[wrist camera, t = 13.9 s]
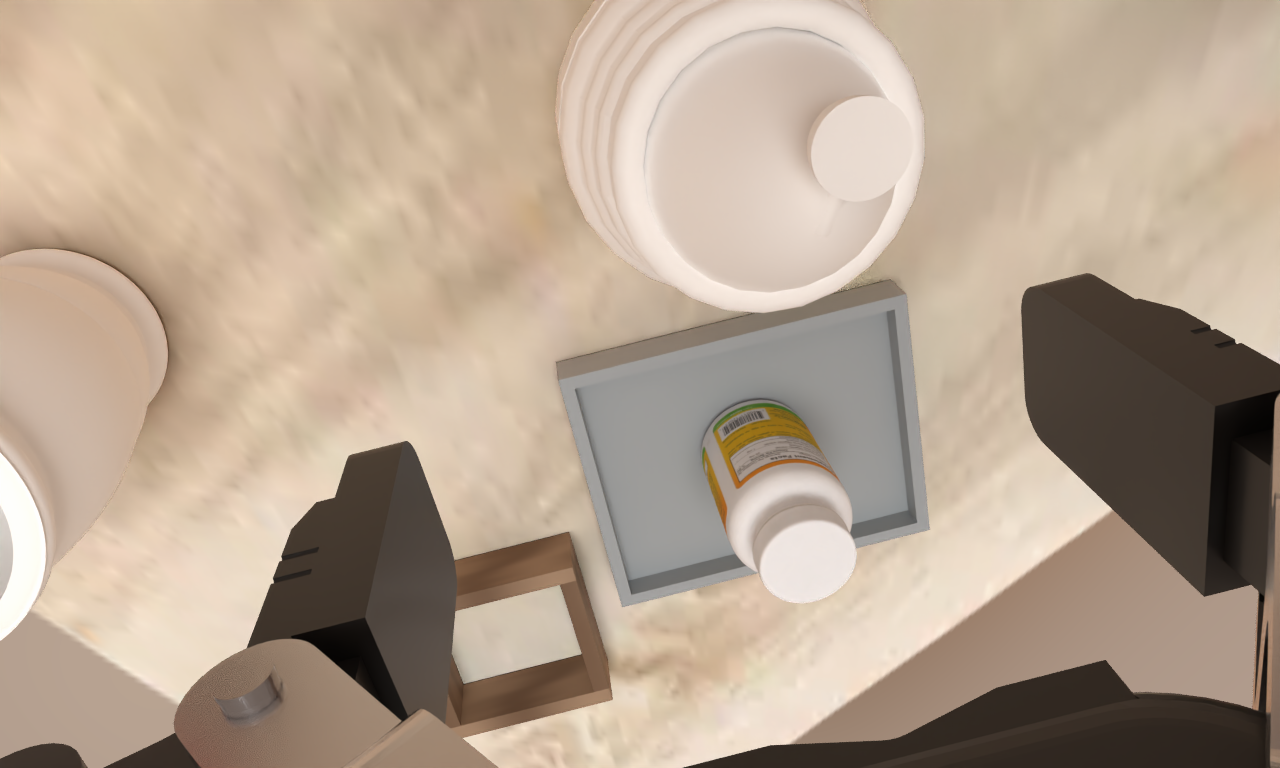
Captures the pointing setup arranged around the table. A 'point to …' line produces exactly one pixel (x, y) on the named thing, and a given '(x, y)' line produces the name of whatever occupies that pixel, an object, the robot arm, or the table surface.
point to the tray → (721, 378)
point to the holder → (539, 685)
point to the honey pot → (740, 143)
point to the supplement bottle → (779, 500)
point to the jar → (66, 406)
